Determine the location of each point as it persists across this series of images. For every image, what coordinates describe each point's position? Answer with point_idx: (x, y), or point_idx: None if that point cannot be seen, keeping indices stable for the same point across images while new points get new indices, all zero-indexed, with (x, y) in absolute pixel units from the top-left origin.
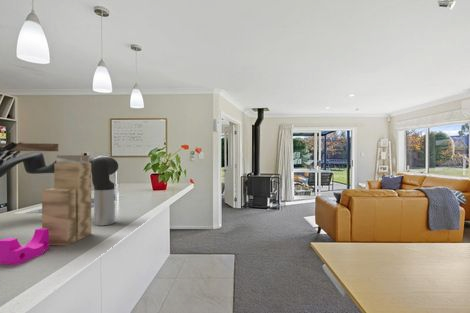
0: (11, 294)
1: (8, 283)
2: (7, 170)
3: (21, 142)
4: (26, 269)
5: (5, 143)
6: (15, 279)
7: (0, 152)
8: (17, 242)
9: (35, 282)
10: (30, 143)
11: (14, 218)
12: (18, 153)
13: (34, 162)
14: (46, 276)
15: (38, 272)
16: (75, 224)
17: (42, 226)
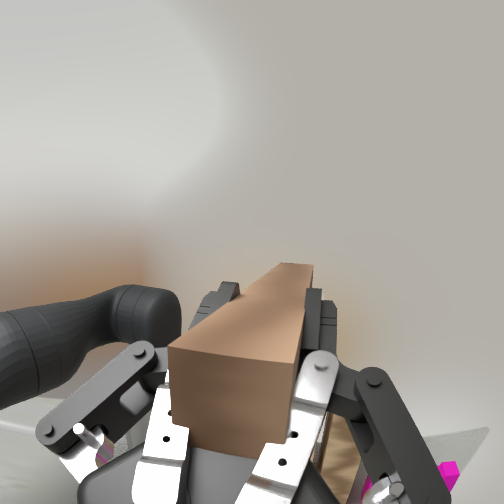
0: (484, 431)
1: (474, 448)
2: None
3: (234, 284)
4: (444, 460)
5: (300, 329)
6: (466, 450)
7: (364, 422)
8: (438, 467)
9: (461, 432)
10: (310, 279)
11: None
12: (126, 403)
13: None
14: (448, 434)
15: (444, 445)
16: (320, 448)
17: (351, 486)
